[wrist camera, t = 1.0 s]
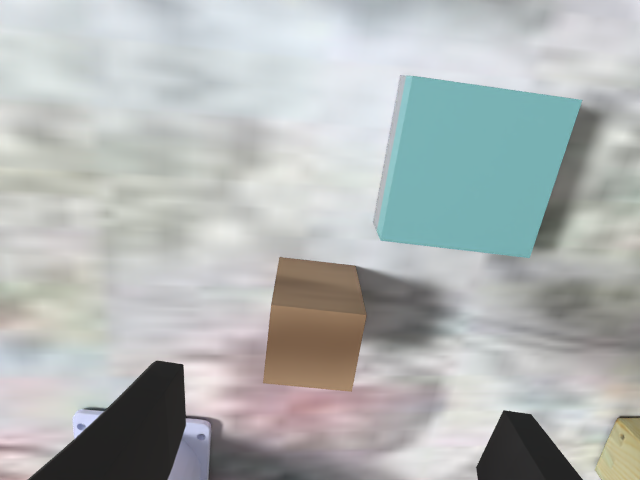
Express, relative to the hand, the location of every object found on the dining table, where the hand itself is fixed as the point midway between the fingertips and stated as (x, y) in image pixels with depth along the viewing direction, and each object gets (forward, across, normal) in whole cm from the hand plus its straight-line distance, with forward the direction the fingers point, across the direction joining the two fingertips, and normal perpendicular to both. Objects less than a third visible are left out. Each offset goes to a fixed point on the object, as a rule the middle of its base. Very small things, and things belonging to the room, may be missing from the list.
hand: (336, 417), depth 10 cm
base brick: (+14, -5, -2) cm, 15 cm away
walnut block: (+12, +1, +6) cm, 14 cm away
